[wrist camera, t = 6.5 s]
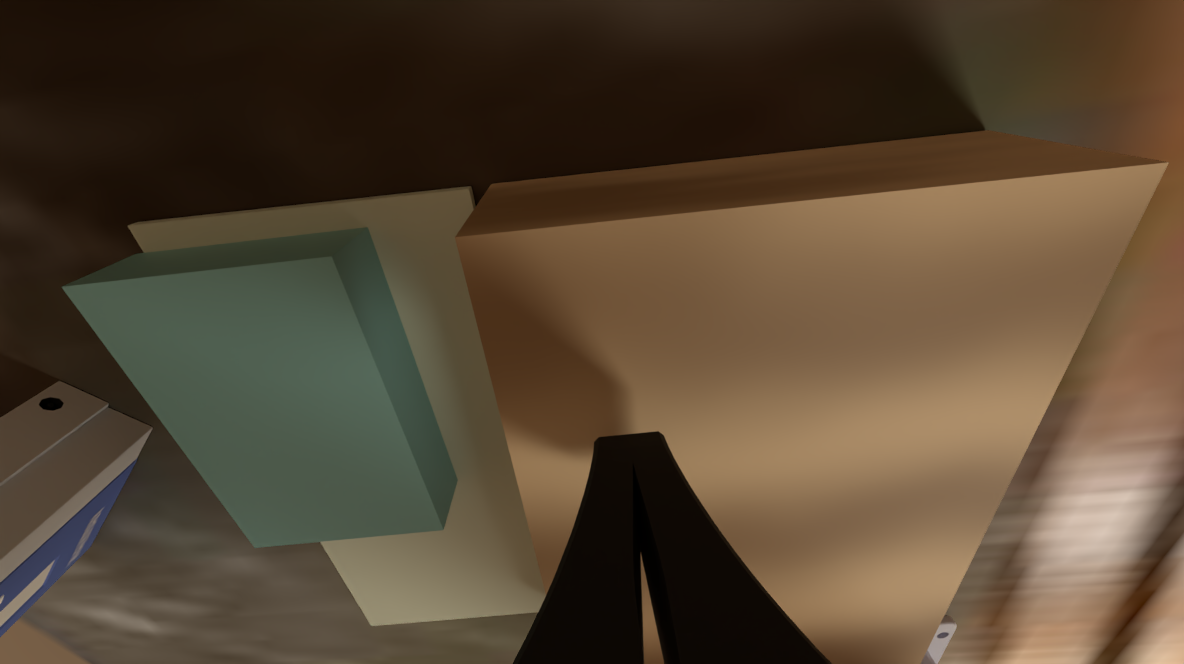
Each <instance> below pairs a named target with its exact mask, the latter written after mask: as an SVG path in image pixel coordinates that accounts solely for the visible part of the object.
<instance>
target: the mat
mask: <svg viewBox="0 0 1184 664" xmlns="http://www.w3.org/2000/svg"><path fill="white" fill-rule="evenodd" d="M475 207H476V205H475V200H474V196H473V191H472V187H471V186H467V187H458V188H448V189H439V190H430V191H420V192H411V193H402V194H393V195H383V196H374V197H365V198H356V199H346V200H337V201H328V202H319V203H309V204H300V205H291V206H281V207H272V208H263V209H254V210H244V211H235V212H226V213H217V214H207V215H198V216H189V217H179V218H170V219H161V220H152V221H142V222H136V223H133V224H131V225H128V228H129V229H130V231H131V233H132V234H133V236H134V238H135V239H136V241H137V242H138V244H139V246H140V247H141V249H142V251H143V252H144V253H147V252H156V251H164V250H173V249H182V248H190V247H199V246H208V245H216V244H225V243H234V242H243V241H251V240H260V239H269V238H277V237H286V236H295V235H304V234H312V233H321V232H330V231H338V230H347V229H356V228H364V227H368V229H369V232H370V235H371V238H372V240H373V243H374V246H375V249H376V252H377V254H378V257H379V260H380V263H381V266H382V268H383V271H384V274H385V277H386V280H387V283H388V285H389V288H390V291H391V294H392V297H393V299H394V302H395V305H396V308H397V311H398V313H399V316H400V319H401V322H402V325H403V327H404V330H405V333H406V336H407V339H408V341H409V344H410V347H411V350H412V353H413V356H414V358H415V361H416V364H417V367H418V370H419V372H420V375H421V378H422V381H423V384H424V386H425V389H426V392H427V395H428V398H429V400H430V403H431V406H432V409H433V412H434V414H435V417H436V420H437V423H438V426H439V429H440V431H441V434H442V437H443V440H444V443H445V445H446V448H447V451H448V454H449V457H450V459H451V462H452V465H453V468H454V471H455V473H456V476H457V479H458V481H457V485H456V488H455V492H454V495H453V499H452V502H451V506H450V509H449V513H448V517H447V520H446V524H445V527H444V530H440V531H430V532H419V533H408V534H398V535H387V536H376V537H366V538H355V539H344V540H334V541H323V542H320V543H321V544H322V546H323V547H324V549H325V551H326V552H327V554H328V556H329V557H330V559H331V561H332V562H333V564H334V566H335V567H336V569H337V570H338V572H339V574H340V575H341V577H342V579H343V580H344V582H345V584H346V585H347V587H348V588H349V590H350V592H351V593H352V595H353V597H354V598H355V600H356V602H357V603H358V605H359V607H360V608H361V610H362V611H363V613H364V615H365V616H366V618H367V620H368V621H369V623H370V625H371V626H377V625H389V624H402V623H414V622H426V621H438V620H450V619H462V618H474V617H486V616H498V615H511V614H523V613H535V612H539V610H540V608H541V606H542V603H543V601H544V599H545V597H546V594H545V590H544V586H543V582H542V578H541V574H540V570H539V566H538V562H537V558H536V554H535V550H534V546H533V543H532V539H531V535H530V531H529V527H528V523H527V519H526V515H525V511H524V507H523V503H522V499H521V495H520V491H519V488H518V484H517V480H516V476H515V472H514V468H513V464H512V460H511V456H510V452H509V448H508V444H507V440H506V437H505V433H504V429H503V425H502V421H501V417H500V413H499V409H498V405H497V401H496V397H495V393H494V389H493V386H492V382H491V378H490V374H489V370H488V366H487V362H486V358H485V354H484V350H483V346H482V342H481V338H480V334H479V331H478V327H477V323H476V319H475V315H474V311H473V307H472V303H471V299H470V295H469V291H468V287H467V283H466V280H465V276H464V272H463V268H462V264H461V260H460V256H459V252H458V248H457V244H456V240H455V236H456V235H457V233H458V232H459V230H460V229H461V227H462V226H463V225H464V223H465V222H466V220H467V219H468V217H469V216H470V214H471V213H472V211H473V210H474V209H475Z"/></svg>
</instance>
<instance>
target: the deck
mask: <svg viewBox="0 0 1184 664" xmlns="http://www.w3.org/2000/svg"><path fill="white" fill-rule="evenodd" d="M1168 163H1169V162H1164V161H1158V160H1153V159H1147V158H1141V157H1136V156H1130V155H1125V154H1119V153H1113V152H1108V151H1102V150H1096V149H1091V148H1085V147H1079V146H1074V145H1068V144H1062V143H1057V142H1051V141H1046V140H1040V139H1034V138H1029V137H1023V136H1017V135H1012V134H1006V133H1000V132H995V131H989V130H986V131H977V132H967V133H958V134H949V135H939V136H930V137H921V138H912V139H902V140H893V141H884V142H875V143H865V144H856V145H847V146H837V147H828V148H819V149H810V150H800V151H791V152H782V153H773V154H763V155H754V156H745V157H736V158H726V159H717V160H708V161H698V162H689V163H680V164H671V165H661V166H652V167H643V168H634V169H624V170H615V171H606V172H597V173H587V174H578V175H569V176H559V177H550V178H541V179H532V180H522V181H513V182H504V183H495V184H491V185H490V187H489V188H488V190H487V191H486V192H485V194H484V195H483V197H482V198H481V200H480V201H479V203H478V204H477V206H476V207H475V209H474V210H473V211H472V213H471V214H470V216H469V217H468V219H467V220H466V222H465V223H464V225H463V226H462V227H461V229H460V230H459V232H458V233H457V235H456V236H455V240H456V244H457V248H458V252H459V256H460V260H461V264H462V268H463V272H464V276H465V280H466V283H467V287H468V291H469V295H470V299H471V303H472V307H473V311H474V315H475V319H476V323H477V327H478V331H479V334H480V338H481V342H482V346H483V350H484V354H485V358H486V362H487V366H488V370H489V374H490V378H491V382H492V386H493V389H494V393H495V397H496V401H497V405H498V409H499V413H500V417H501V421H502V425H503V429H504V433H505V437H506V440H507V444H508V448H509V452H510V456H511V460H512V464H513V468H514V472H515V476H516V480H517V484H518V488H519V491H520V495H521V499H522V503H523V507H524V511H525V515H526V519H527V523H528V527H529V531H530V535H531V539H532V543H533V546H534V550H535V554H536V558H537V562H538V566H539V570H540V574H541V578H542V582H543V586H544V590H545V594H547V592H548V590H549V588H550V585H551V583H552V581H553V578H554V576H555V574H556V571H557V568H558V566H559V563H560V561H561V558H562V556H563V553H564V550H565V548H566V545H567V543H568V540H569V537H570V535H571V532H572V529H573V526H574V523H575V520H576V517H577V514H578V511H579V508H580V504H581V501H582V498H583V495H584V491H585V488H586V484H587V480H588V476H589V472H590V467H591V462H592V456H593V449H594V441H595V440H596V439H597V438H599V437H604V436H614V435H625V434H635V433H645V432H656V431H659V432H660V433H662V434H663V435H664V437H665V439H666V442H667V444H668V446H669V448H670V450H671V452H672V454H673V456H674V458H675V460H676V462H677V464H678V466H679V468H680V469H681V471H682V473H683V474H684V476H685V478H686V480H687V481H688V483H689V485H690V486H691V488H692V489H693V491H694V493H695V494H696V496H697V497H698V499H699V500H700V502H701V503H702V505H703V506H704V508H705V509H706V511H707V512H708V514H709V515H710V517H711V518H712V520H713V521H714V523H715V524H716V526H717V527H718V528H719V530H720V531H721V533H722V534H723V535H724V537H725V538H726V540H727V541H728V542H729V544H730V545H731V546H732V548H733V549H734V550H735V552H736V553H737V554H738V556H739V557H740V558H741V560H742V561H743V562H744V563H745V565H746V566H747V567H748V569H749V570H750V571H751V572H752V574H753V575H754V576H755V577H756V579H757V580H758V581H759V582H760V583H761V585H762V586H763V587H764V588H765V590H766V591H767V592H768V593H769V594H770V595H771V597H772V598H773V599H774V600H775V601H776V602H777V604H778V605H779V606H780V607H781V608H782V610H783V611H784V612H785V613H786V614H787V615H788V616H789V618H790V619H791V620H792V621H793V622H794V623H795V624H796V625H797V626H798V628H799V629H800V630H801V631H802V632H803V633H804V634H805V635H806V636H807V638H808V639H809V640H810V641H811V642H812V643H813V644H814V645H815V646H816V647H817V649H818V650H819V651H820V652H821V653H822V654H823V655H824V656H825V657H826V658H827V659H828V660H829V661H830V662H831V663H832V664H921V662H922V660H923V658H924V656H925V654H926V652H927V650H928V648H929V646H930V644H931V642H932V639H933V637H934V635H935V633H936V631H937V629H938V627H939V625H940V623H941V621H942V619H943V617H944V615H945V613H946V611H947V609H948V607H949V605H950V603H951V601H952V599H953V597H954V595H955V593H956V591H957V589H958V587H959V585H960V583H961V581H962V579H963V577H964V575H965V573H966V571H967V569H968V567H969V565H970V563H971V561H972V559H973V557H974V555H975V553H976V551H977V549H978V547H979V545H980V543H981V541H982V539H983V537H984V535H985V532H986V530H987V528H988V526H989V524H990V522H991V520H992V518H993V516H994V514H995V512H996V510H997V508H998V506H999V504H1000V502H1001V500H1002V498H1003V496H1004V494H1005V492H1006V490H1007V488H1008V486H1009V484H1010V482H1011V480H1012V478H1013V476H1014V474H1015V472H1016V470H1017V468H1018V466H1019V464H1020V462H1021V460H1022V458H1023V456H1024V454H1025V452H1026V450H1027V448H1028V446H1029V444H1030V442H1031V440H1032V438H1033V436H1034V434H1035V432H1036V430H1037V428H1038V425H1039V423H1040V421H1041V419H1042V417H1043V415H1044V413H1045V411H1046V409H1047V407H1048V405H1049V403H1050V401H1051V399H1052V397H1053V395H1054V393H1055V391H1056V389H1057V387H1058V385H1059V383H1060V381H1061V379H1062V377H1063V375H1064V373H1065V371H1066V369H1067V367H1068V365H1069V363H1070V361H1071V359H1072V357H1073V355H1074V353H1075V351H1076V349H1077V347H1078V345H1079V343H1080V341H1081V339H1082V337H1083V335H1084V333H1085V331H1086V329H1087V327H1088V325H1089V323H1090V321H1091V318H1092V316H1093V314H1094V312H1095V310H1096V308H1097V306H1098V304H1099V302H1100V300H1101V298H1102V296H1103V294H1104V292H1105V290H1106V288H1107V286H1108V284H1109V282H1110V280H1111V278H1112V276H1113V274H1114V272H1115V270H1116V268H1117V266H1118V264H1119V262H1120V260H1121V258H1122V256H1123V254H1124V252H1125V250H1126V248H1127V246H1128V244H1129V242H1130V240H1131V238H1132V236H1133V234H1134V232H1135V230H1136V228H1137V226H1138V224H1139V222H1140V220H1141V218H1142V216H1143V214H1144V211H1145V209H1146V207H1147V205H1148V203H1149V201H1150V199H1151V197H1152V195H1153V193H1154V191H1155V189H1156V187H1157V185H1158V183H1159V181H1160V179H1161V177H1162V175H1163V173H1164V171H1165V169H1166V167H1167V165H1168ZM641 582H642V613H643V643H644V664H664V660H663V655H662V651H661V646H660V641H659V637H658V632H657V627H656V622H655V618H654V613H653V608H652V604H651V599H650V594H649V590H648V585H647V580H646V575H645V571H644V566H643V561H642V556H641Z"/></svg>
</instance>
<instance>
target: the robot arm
mask: <svg viewBox="0 0 1184 664" xmlns="http://www.w3.org/2000/svg"><path fill="white" fill-rule="evenodd" d="M641 556H642V561H643V566H644V571H645V575H646V580H647V585H648V590H649V594H650V599H651V604H652V608H653V613H654V618H655V622H656V627H657V632H658V637H659V641H660V646H661V651H662V655H663V660H664V664H832V663H831V662H830V661H829V660H828V659H827V658H826V657H825V656H824V655H823V654H822V653H821V652H820V651H819V650H818V649H817V647H816V646H815V645H814V644H813V643H812V642H811V641H810V640H809V639H808V638H807V636H806V635H805V634H804V633H803V632H802V631H801V630H800V629H799V628H798V626H797V625H796V624H795V623H794V622H793V621H792V620H791V619H790V618H789V616H788V615H787V614H786V613H785V612H784V611H783V610H782V608H781V607H780V606H779V605H778V604H777V602H776V601H775V600H774V599H773V598H772V597H771V595H770V594H769V593H768V592H767V591H766V590H765V588H764V587H763V586H762V585H761V583H760V582H759V581H758V580H757V579H756V577H755V576H754V575H753V574H752V572H751V571H750V570H749V569H748V567H747V566H746V565H745V563H744V562H743V561H742V560H741V558H740V557H739V556H738V554H737V553H736V552H735V550H734V549H733V548H732V546H731V545H730V544H729V542H728V541H727V540H726V538H725V537H724V535H723V534H722V533H721V531H720V530H719V528H718V527H717V526H716V524H715V523H714V521H713V520H712V518H711V517H710V515H709V514H708V512H707V511H706V509H705V508H704V506H703V505H702V503H701V502H700V500H699V499H698V497H697V496H696V494H695V493H694V491H693V489H692V488H691V486H690V485H689V483H688V481H687V480H686V478H685V476H684V474H683V473H682V471H681V469H680V468H679V466H678V464H677V462H676V460H675V458H674V456H673V454H672V452H671V450H670V448H669V446H668V444H667V442H666V439H665V437H664V435H663V434H662V433H660V432H659V431H656V432H645V433H635V434H625V435H614V436H604V437H599V438H597V439H596V440H595V441H594V449H593V456H592V462H591V467H590V472H589V476H588V480H587V484H586V488H585V491H584V495H583V498H582V501H581V504H580V508H579V511H578V514H577V517H576V520H575V523H574V526H573V529H572V532H571V535H570V537H569V540H568V543H567V545H566V548H565V550H564V553H563V556H562V558H561V561H560V563H559V566H558V568H557V571H556V574H555V576H554V578H553V581H552V583H551V585H550V588H549V590H548V592H547V594H546V597H545V599H544V601H543V603H542V606H541V608H540V610H539V612H538V614H537V616H536V618H535V620H534V622H533V625H532V627H531V629H530V631H529V633H528V635H527V637H526V639H525V641H524V643H523V645H522V647H521V649H520V650H519V652H518V654H517V656H516V658H515V660H514V662H513V664H644V643H643V613H642V582H641ZM956 627H957V625H956V623H955V622H954V620H953V619H952V617H950V616H948V615H944V617H943V619H942V621H941V623H940V625H939V627H938V629H937V631H936V633H935V635H934V637H933V639H932V642H931V644H930V646H929V648H928V650H927V652H926V654H925V656H924V658H923V660H922V662H921V664H938V662H939V660H940V658H941V656H942V654H943V652H944V650H945V649H946V647H947V645H948V643H949V641H950V639H951V637H952V635H953V633H954V632H955V630H956Z"/></svg>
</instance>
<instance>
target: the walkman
mask: <svg viewBox="0 0 1184 664" xmlns="http://www.w3.org/2000/svg"><path fill="white" fill-rule="evenodd" d="M108 404H109V403H108V402H105V401H103V400H101V399H99V398H97V397H94V396H92V395H90V394H88V393H86V392H83V391H81V390H79V389H77V388H74V387H72V386H70V385H68V384H66V383H63V382H61V381H58V382H57V383H55V384H53V385H52V386H50V387H49V388H47V389H45V390H44V391H42V392H41V393H39V394H37V395H36V396H34V397H33V398H31V399H29V400H28V401H26V402H25V403H23V404H21V405H20V406H18V407H16V408H15V409H13V410H12V411H10V412H8V413H7V414H5V415H4V416H2V417H0V637H1V636H2V635H3V634H4V633H5V632H6V631H7V630H8V629H9V628H10V627H11V626H12V625H13V624H14V623H15V622H16V621H17V620H18V619H19V618H20V617H21V616H22V615H23V614H24V613H25V612H26V611H27V610H28V609H29V608H30V607H31V606H32V605H33V604H34V603H35V602H36V601H37V600H38V599H39V598H40V597H41V596H42V595H43V594H44V593H45V592H46V591H47V590H48V589H49V588H50V587H51V586H52V585H53V584H54V583H55V582H56V581H57V580H58V579H59V578H60V577H61V576H62V575H63V574H64V573H65V572H66V571H67V570H68V569H69V568H70V567H71V566H72V565H73V564H74V563H75V562H76V561H77V560H78V559H79V558H80V557H81V556H82V555H83V554H84V553H85V552H86V551H87V550H88V549H89V548H90V547H91V545H92V543H93V541H94V539H95V537H96V536H97V534H98V532H99V530H100V528H101V526H102V524H103V523H104V521H105V519H106V517H107V515H108V513H109V511H110V510H111V508H112V506H113V504H114V502H115V500H116V498H117V497H118V495H119V493H120V491H121V489H122V487H123V486H124V484H125V482H126V480H127V478H128V476H129V474H130V473H131V471H132V469H133V467H134V465H135V463H136V461H137V460H138V458H137V457H138V455H139V453H140V451H141V449H142V448H143V446H144V444H145V442H146V440H147V438H148V436H149V434H150V432H151V431H152V429H153V427H151V426H149V425H147V424H144V423H142V422H140V421H138V420H135V419H133V418H131V417H129V416H126V415H124V414H122V413H120V412H118V411H115V410H113V409H111V408H109V407H108Z"/></svg>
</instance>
